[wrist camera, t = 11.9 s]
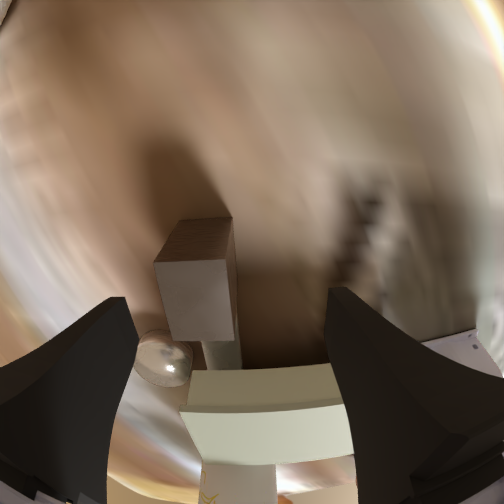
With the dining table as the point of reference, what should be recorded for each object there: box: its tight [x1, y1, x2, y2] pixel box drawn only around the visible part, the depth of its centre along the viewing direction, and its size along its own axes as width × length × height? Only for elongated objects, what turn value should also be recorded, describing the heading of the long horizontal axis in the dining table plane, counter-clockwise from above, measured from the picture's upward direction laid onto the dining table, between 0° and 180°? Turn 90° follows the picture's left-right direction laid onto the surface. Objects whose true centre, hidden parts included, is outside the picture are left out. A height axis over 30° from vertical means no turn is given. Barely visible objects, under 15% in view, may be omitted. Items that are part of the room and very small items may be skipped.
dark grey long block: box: [153, 217, 243, 370], centre depth 19 cm, size 4×16×6 cm, turn 3°
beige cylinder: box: [198, 459, 278, 504], centre depth 25 cm, size 8×8×12 cm
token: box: [133, 330, 194, 387], centre depth 23 cm, size 5×5×2 cm
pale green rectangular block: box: [179, 363, 354, 465], centre depth 21 cm, size 17×10×8 cm, turn 93°
